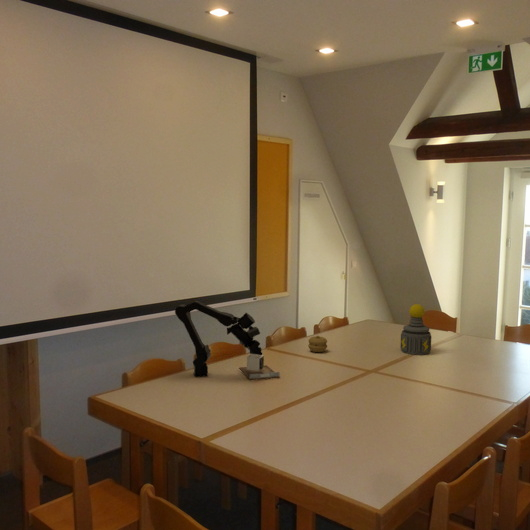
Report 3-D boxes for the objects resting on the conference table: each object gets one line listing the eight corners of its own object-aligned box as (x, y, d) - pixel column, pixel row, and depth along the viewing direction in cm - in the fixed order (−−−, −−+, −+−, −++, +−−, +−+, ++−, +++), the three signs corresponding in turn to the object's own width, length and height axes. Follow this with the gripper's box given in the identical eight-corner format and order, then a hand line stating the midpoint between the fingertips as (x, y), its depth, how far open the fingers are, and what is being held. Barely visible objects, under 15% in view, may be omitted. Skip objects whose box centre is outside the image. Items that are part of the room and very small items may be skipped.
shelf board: (250, 380, 292) (250, 378, 292) (238, 369, 313) (238, 367, 313) (279, 378, 297) (279, 376, 297) (266, 367, 318) (266, 365, 318)
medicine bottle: (259, 371, 297) (259, 348, 296) (246, 370, 299) (246, 347, 298) (263, 368, 304) (264, 346, 303) (251, 366, 306) (251, 344, 305)
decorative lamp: (393, 349, 361) (395, 302, 358) (417, 347, 369) (419, 301, 366) (413, 356, 344) (415, 307, 341) (437, 353, 352) (439, 305, 349)
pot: (306, 353, 351) (306, 337, 350) (310, 348, 362) (310, 333, 361) (325, 354, 347) (325, 338, 346) (328, 350, 358) (329, 334, 358)
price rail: (250, 378, 292) (250, 374, 292) (249, 377, 294) (249, 374, 294) (279, 376, 297) (279, 372, 297) (278, 375, 299) (278, 371, 299)
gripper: (256, 326, 290) (276, 346, 294) (245, 319, 307) (264, 338, 312) (241, 342, 288) (261, 362, 293) (231, 334, 305) (250, 353, 310)
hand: (259, 353), depth 302 cm, fingers closed on medicine bottle, 6 cm apart
